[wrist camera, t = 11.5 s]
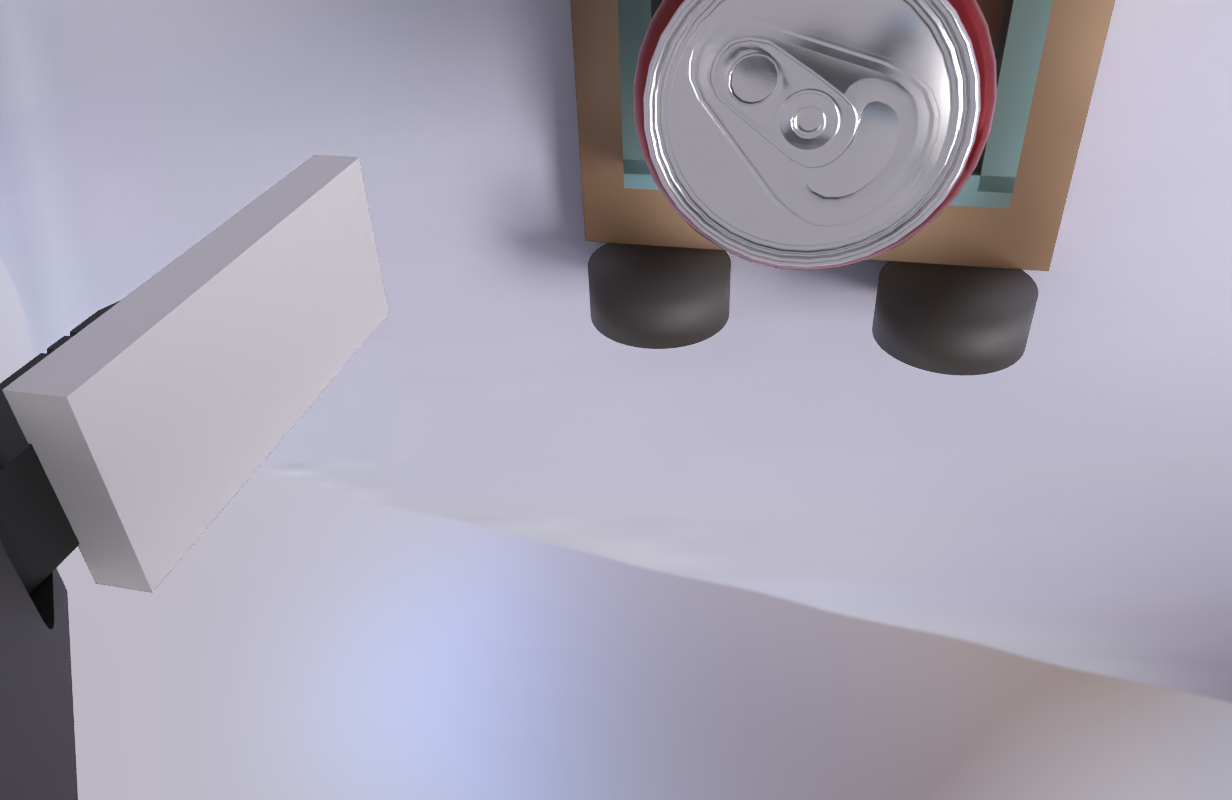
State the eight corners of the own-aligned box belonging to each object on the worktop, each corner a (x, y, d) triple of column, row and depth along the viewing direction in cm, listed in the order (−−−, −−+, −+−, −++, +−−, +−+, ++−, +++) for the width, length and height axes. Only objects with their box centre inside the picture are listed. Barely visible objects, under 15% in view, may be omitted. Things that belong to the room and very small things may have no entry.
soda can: (1015, -33, 27) (1087, 103, 18) (832, 151, 31) (810, 341, 22) (828, -219, 26) (797, -180, 16) (661, 1, 30) (558, 134, 20)
